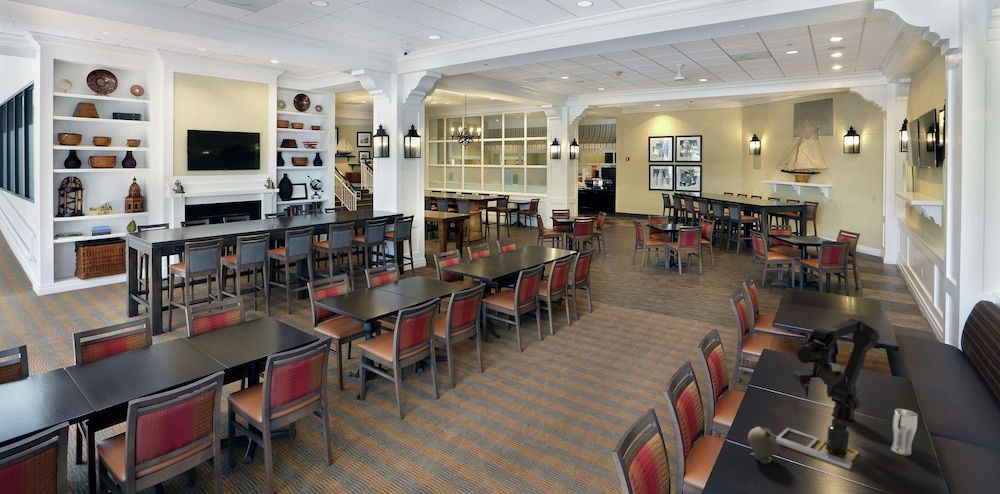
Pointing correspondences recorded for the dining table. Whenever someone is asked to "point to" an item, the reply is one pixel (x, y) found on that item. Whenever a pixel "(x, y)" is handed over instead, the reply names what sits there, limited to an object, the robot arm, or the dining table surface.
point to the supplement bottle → (837, 437)
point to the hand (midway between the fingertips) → (817, 397)
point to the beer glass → (903, 431)
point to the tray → (822, 454)
